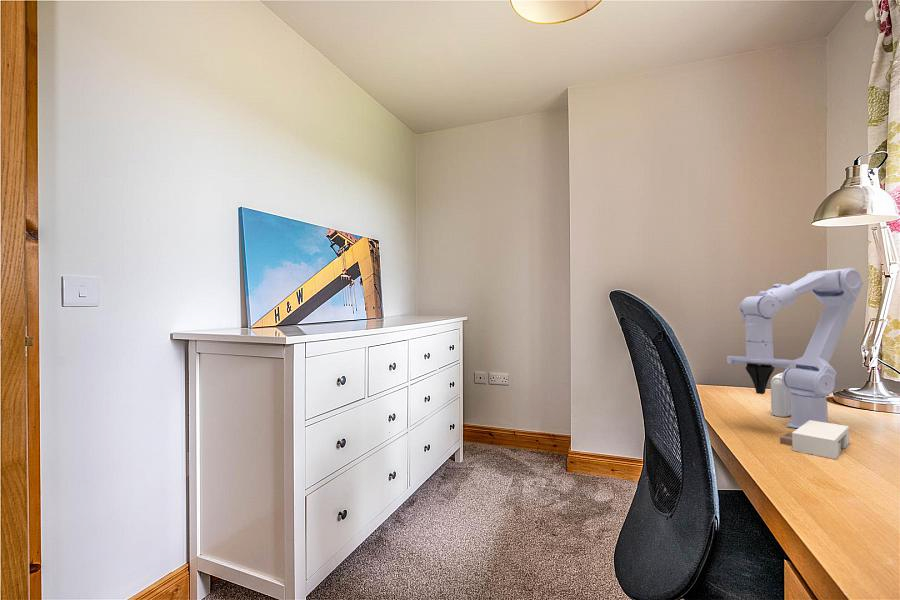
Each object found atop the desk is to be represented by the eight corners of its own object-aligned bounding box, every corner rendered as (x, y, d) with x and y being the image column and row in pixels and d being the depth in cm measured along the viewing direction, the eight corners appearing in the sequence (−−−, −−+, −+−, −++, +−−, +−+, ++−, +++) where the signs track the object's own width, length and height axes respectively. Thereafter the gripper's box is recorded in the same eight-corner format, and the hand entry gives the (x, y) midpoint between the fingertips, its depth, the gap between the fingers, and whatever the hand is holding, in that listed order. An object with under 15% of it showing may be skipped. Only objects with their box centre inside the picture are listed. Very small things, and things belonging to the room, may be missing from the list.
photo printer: (782, 410, 130) (781, 370, 130) (799, 413, 126) (798, 372, 126) (769, 415, 124) (767, 373, 124) (786, 418, 120) (785, 375, 121)
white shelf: (810, 436, 104) (809, 420, 104) (849, 443, 99) (849, 426, 99) (792, 450, 94) (791, 432, 94) (835, 459, 89) (834, 440, 89)
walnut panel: (789, 439, 104) (788, 431, 104) (837, 448, 96) (837, 440, 96) (780, 445, 99) (780, 437, 99) (830, 455, 92) (830, 446, 92)
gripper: (722, 340, 113) (723, 391, 112) (789, 344, 101) (791, 400, 101) (731, 339, 117) (733, 387, 117) (797, 342, 105) (799, 395, 105)
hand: (760, 393), depth 109 cm, fingers closed
